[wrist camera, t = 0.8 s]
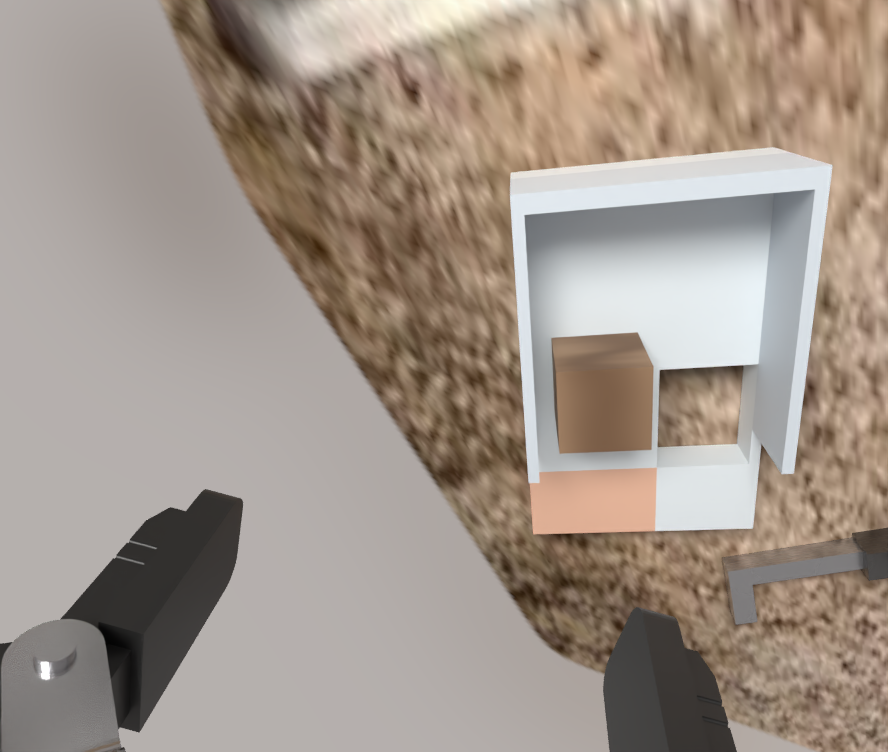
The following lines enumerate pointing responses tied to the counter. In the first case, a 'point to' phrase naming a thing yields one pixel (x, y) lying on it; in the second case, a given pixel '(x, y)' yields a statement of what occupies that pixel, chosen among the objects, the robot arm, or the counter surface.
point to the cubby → (669, 321)
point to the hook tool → (802, 566)
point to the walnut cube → (602, 393)
